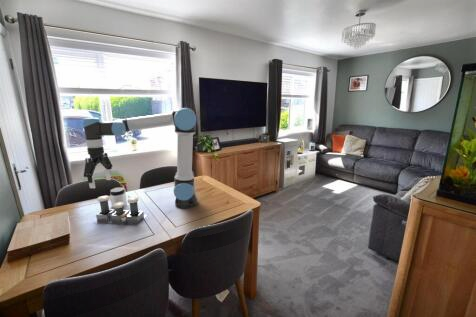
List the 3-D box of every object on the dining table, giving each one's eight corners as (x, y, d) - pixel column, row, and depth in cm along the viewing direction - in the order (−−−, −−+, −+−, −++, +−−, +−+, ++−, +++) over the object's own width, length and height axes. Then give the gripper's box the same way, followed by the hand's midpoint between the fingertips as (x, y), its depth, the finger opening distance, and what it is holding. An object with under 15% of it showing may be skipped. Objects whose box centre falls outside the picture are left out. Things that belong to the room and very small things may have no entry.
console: (147, 216, 135) (146, 209, 134) (136, 227, 123) (135, 219, 122) (107, 214, 137) (106, 207, 136) (93, 224, 126) (91, 216, 124)
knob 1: (113, 210, 132) (110, 195, 130) (106, 214, 127) (104, 199, 125) (104, 209, 133) (102, 195, 130) (97, 214, 127) (95, 199, 125)
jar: (112, 210, 142) (109, 193, 139) (111, 205, 149) (108, 189, 146) (127, 207, 147) (125, 190, 144) (126, 202, 153) (123, 186, 150)
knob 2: (141, 211, 131) (140, 197, 128) (136, 216, 125) (134, 201, 123) (132, 211, 131) (131, 196, 129) (127, 215, 126) (125, 200, 123)
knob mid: (128, 216, 132) (126, 202, 130) (122, 221, 127) (120, 206, 125) (119, 216, 133) (117, 201, 131) (113, 220, 127) (111, 206, 125)
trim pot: (128, 221, 128) (127, 213, 126) (125, 224, 124) (124, 215, 123) (123, 220, 128) (122, 212, 127) (120, 223, 125) (119, 215, 123)
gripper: (104, 142, 133) (109, 176, 138) (70, 151, 109) (77, 191, 114) (116, 142, 132) (120, 176, 137) (84, 151, 108) (91, 192, 114)
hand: (101, 183), depth 126 cm, fingers open, 12 cm apart
